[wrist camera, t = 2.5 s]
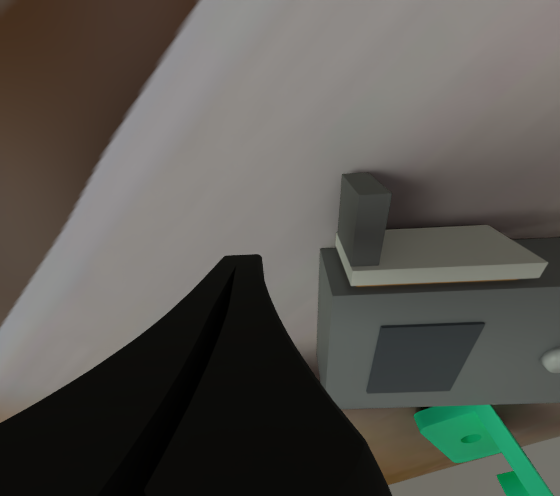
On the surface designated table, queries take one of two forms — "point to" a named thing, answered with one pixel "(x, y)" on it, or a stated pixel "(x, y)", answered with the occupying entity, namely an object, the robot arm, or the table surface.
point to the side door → (419, 245)
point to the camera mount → (481, 443)
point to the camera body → (440, 338)
